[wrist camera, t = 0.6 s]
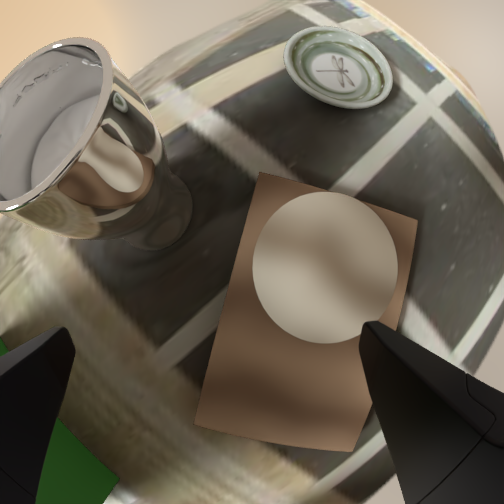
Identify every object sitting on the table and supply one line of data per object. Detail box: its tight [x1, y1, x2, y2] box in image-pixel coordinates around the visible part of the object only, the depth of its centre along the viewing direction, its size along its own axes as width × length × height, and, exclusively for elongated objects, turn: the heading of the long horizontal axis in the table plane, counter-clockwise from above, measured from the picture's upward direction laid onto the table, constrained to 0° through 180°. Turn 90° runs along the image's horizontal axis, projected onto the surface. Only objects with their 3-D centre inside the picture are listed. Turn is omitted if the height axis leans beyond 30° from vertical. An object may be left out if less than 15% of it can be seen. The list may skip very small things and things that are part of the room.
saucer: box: [284, 26, 393, 109], centre depth 22 cm, size 10×10×2 cm
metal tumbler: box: [0, 37, 193, 251], centre depth 14 cm, size 7×7×15 cm
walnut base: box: [193, 172, 418, 452], centre depth 20 cm, size 18×12×2 cm, turn 165°
